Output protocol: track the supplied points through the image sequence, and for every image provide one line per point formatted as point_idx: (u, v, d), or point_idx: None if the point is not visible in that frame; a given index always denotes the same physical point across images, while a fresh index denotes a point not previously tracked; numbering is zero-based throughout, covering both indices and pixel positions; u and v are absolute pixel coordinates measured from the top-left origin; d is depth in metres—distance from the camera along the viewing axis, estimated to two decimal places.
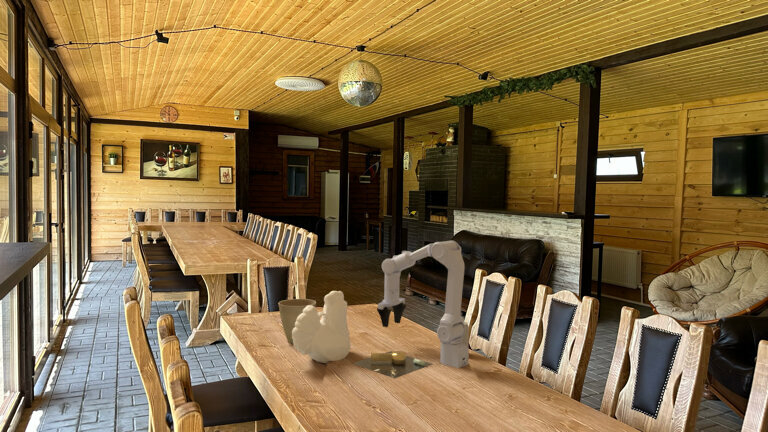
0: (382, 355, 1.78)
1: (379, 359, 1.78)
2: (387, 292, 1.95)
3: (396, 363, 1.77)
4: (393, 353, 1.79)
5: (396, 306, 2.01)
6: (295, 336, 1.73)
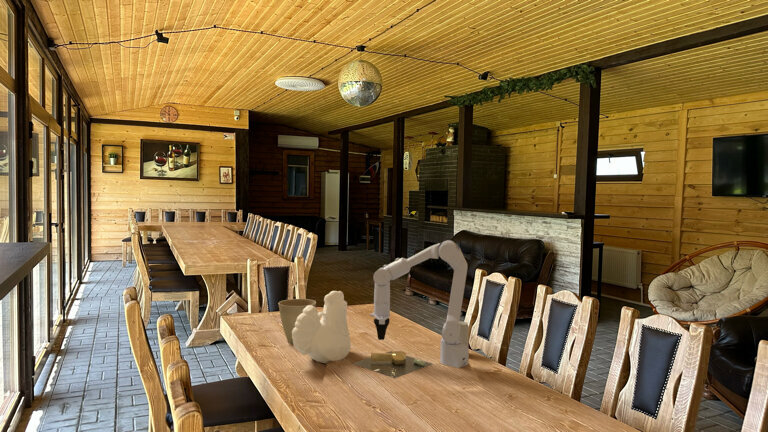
0: (382, 355, 1.78)
1: (379, 359, 1.78)
2: (382, 305, 1.81)
3: (396, 363, 1.77)
4: (393, 353, 1.79)
5: None
6: (295, 336, 1.73)
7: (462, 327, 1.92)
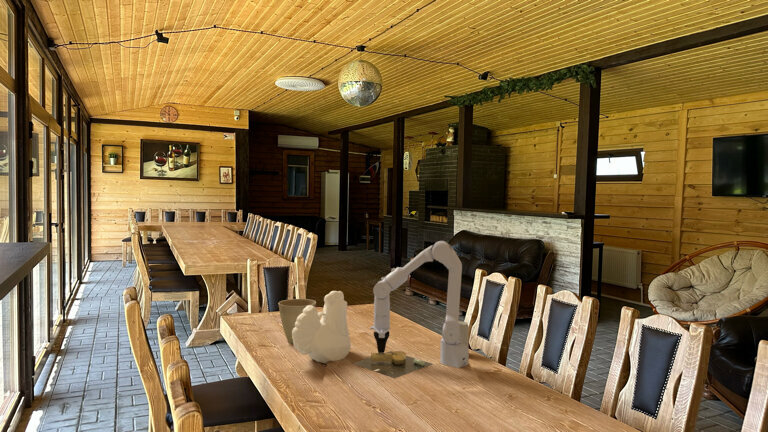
0: (382, 355, 1.78)
1: (379, 359, 1.78)
2: (382, 318, 1.81)
3: (396, 363, 1.77)
4: (393, 353, 1.79)
5: None
6: (295, 336, 1.73)
7: (462, 327, 1.92)
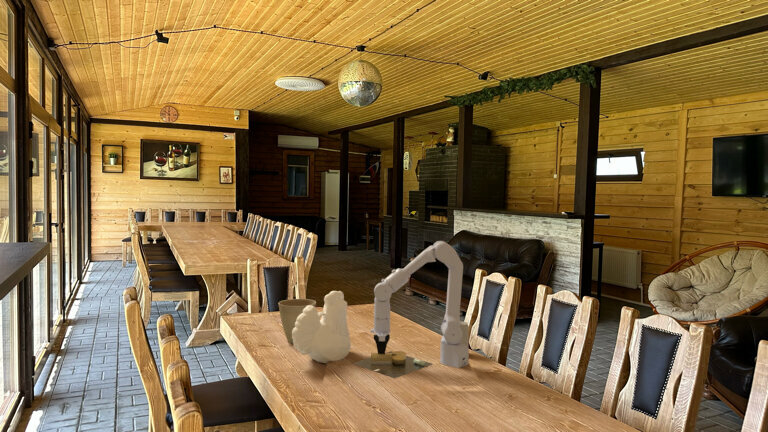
0: (382, 355, 1.78)
1: (379, 359, 1.78)
2: (382, 321, 1.77)
3: (396, 363, 1.77)
4: (393, 353, 1.79)
5: None
6: (295, 336, 1.73)
7: (462, 327, 1.92)
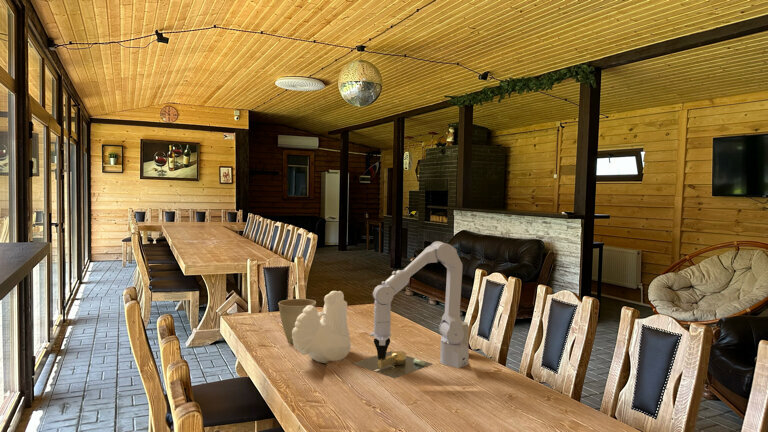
0: (389, 359, 1.74)
1: (387, 363, 1.74)
2: (382, 324, 1.72)
3: (402, 363, 1.77)
4: (395, 354, 1.78)
5: None
6: (295, 336, 1.73)
7: (462, 327, 1.92)
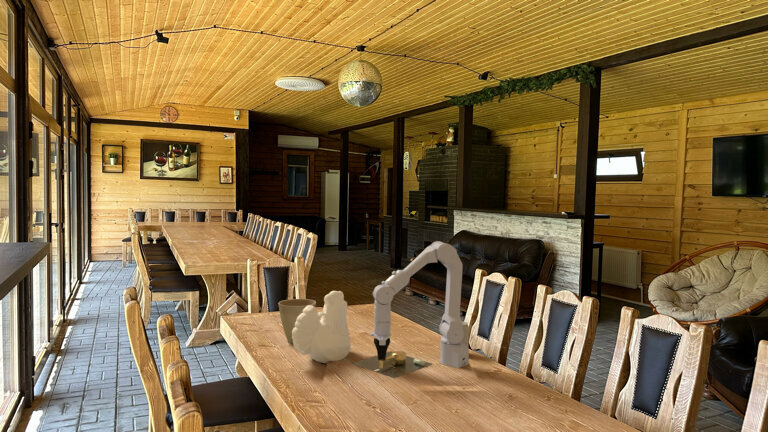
0: (390, 359, 1.74)
1: (388, 364, 1.73)
2: (382, 324, 1.72)
3: (402, 363, 1.77)
4: (395, 354, 1.77)
5: None
6: (295, 336, 1.73)
7: (462, 327, 1.92)
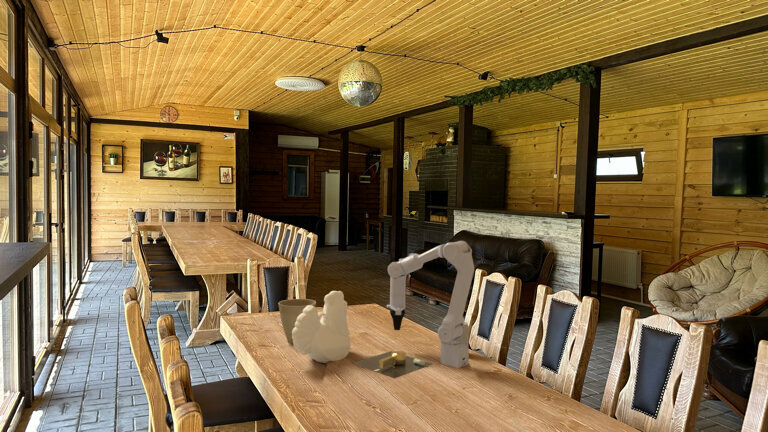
0: (390, 359, 1.74)
1: (388, 364, 1.73)
2: (398, 296, 1.90)
3: (402, 363, 1.77)
4: (395, 354, 1.77)
5: None
6: (295, 336, 1.73)
7: None
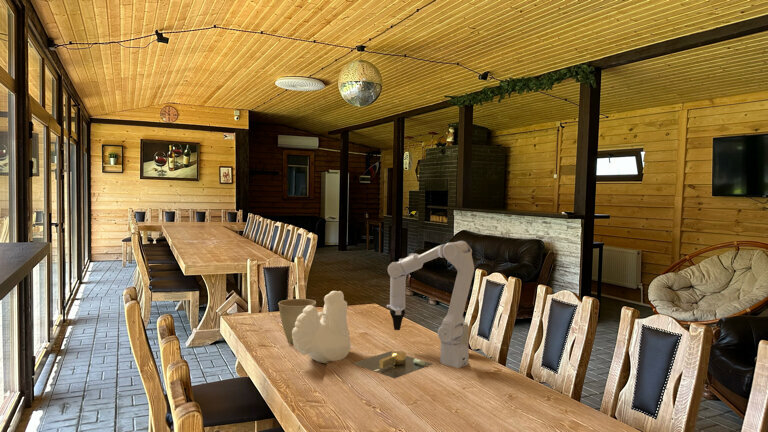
0: (390, 359, 1.74)
1: (388, 364, 1.73)
2: (398, 296, 1.90)
3: (402, 363, 1.77)
4: (395, 354, 1.77)
5: None
6: (295, 336, 1.73)
7: None
